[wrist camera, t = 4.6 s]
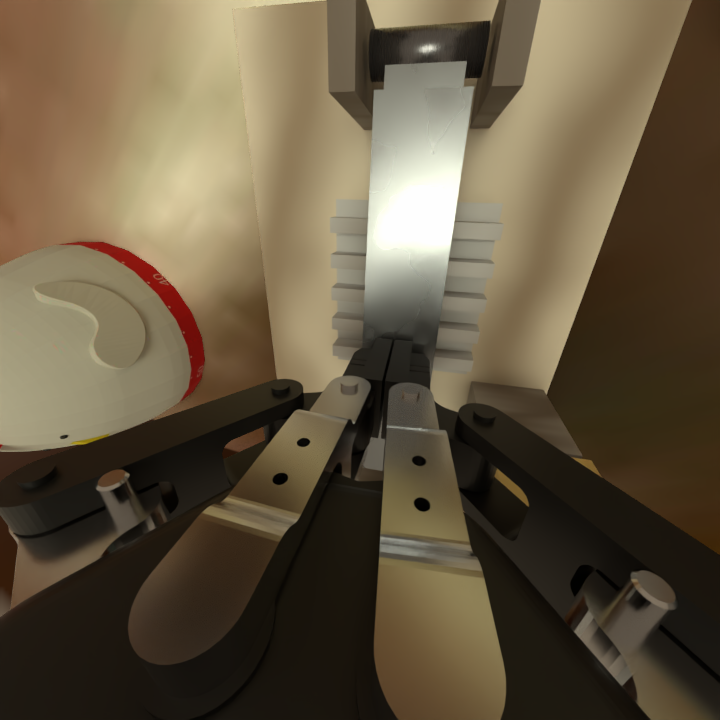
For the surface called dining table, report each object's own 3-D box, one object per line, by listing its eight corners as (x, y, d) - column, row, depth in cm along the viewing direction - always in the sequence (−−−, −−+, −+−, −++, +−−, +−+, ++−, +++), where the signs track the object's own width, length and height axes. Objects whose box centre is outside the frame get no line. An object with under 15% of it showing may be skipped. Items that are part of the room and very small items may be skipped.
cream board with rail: (663, 1, 12) (954, -251, 5) (515, 439, 22) (550, 539, 15) (256, 31, 15) (114, -105, 8) (292, 406, 25) (243, 478, 18)
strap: (485, 35, 9) (493, 9, 8) (421, 462, 16) (420, 479, 15) (375, 42, 10) (369, 18, 9) (357, 451, 16) (352, 467, 15)
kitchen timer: (145, 421, 30) (-79, 592, 17) (24, 302, 26) (-389, 404, 13) (238, 362, 24) (10, 552, 11) (101, 199, 20) (-497, 195, 7)
